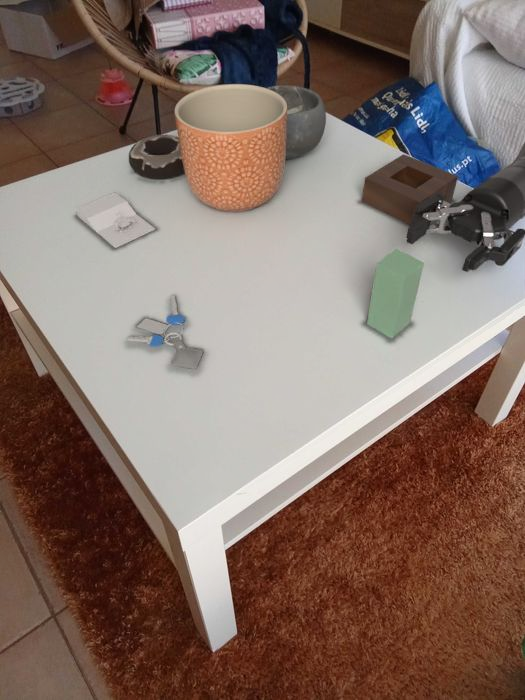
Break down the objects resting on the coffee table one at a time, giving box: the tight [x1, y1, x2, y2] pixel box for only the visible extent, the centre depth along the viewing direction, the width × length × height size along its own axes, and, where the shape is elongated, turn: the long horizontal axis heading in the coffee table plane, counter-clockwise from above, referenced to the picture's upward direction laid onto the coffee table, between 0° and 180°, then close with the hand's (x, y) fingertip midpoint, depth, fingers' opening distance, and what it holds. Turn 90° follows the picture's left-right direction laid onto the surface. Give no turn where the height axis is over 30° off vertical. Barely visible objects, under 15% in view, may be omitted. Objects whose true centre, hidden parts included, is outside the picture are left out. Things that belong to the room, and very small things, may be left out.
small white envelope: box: [75, 191, 156, 249], centre depth 90 cm, size 7×12×2 cm, turn 41°
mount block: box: [361, 153, 459, 226], centre depth 92 cm, size 11×11×4 cm
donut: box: [128, 134, 185, 180], centre depth 102 cm, size 12×12×4 cm
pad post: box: [366, 248, 425, 339], centre depth 70 cm, size 4×4×10 cm
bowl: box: [265, 84, 327, 160], centre depth 102 cm, size 15×15×10 cm
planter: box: [174, 83, 287, 213], centre depth 90 cm, size 17×17×15 cm
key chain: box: [126, 294, 204, 370], centre depth 72 cm, size 14×8×1 cm, turn 24°
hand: (437, 251), depth 73 cm, fingers open, 8 cm apart
